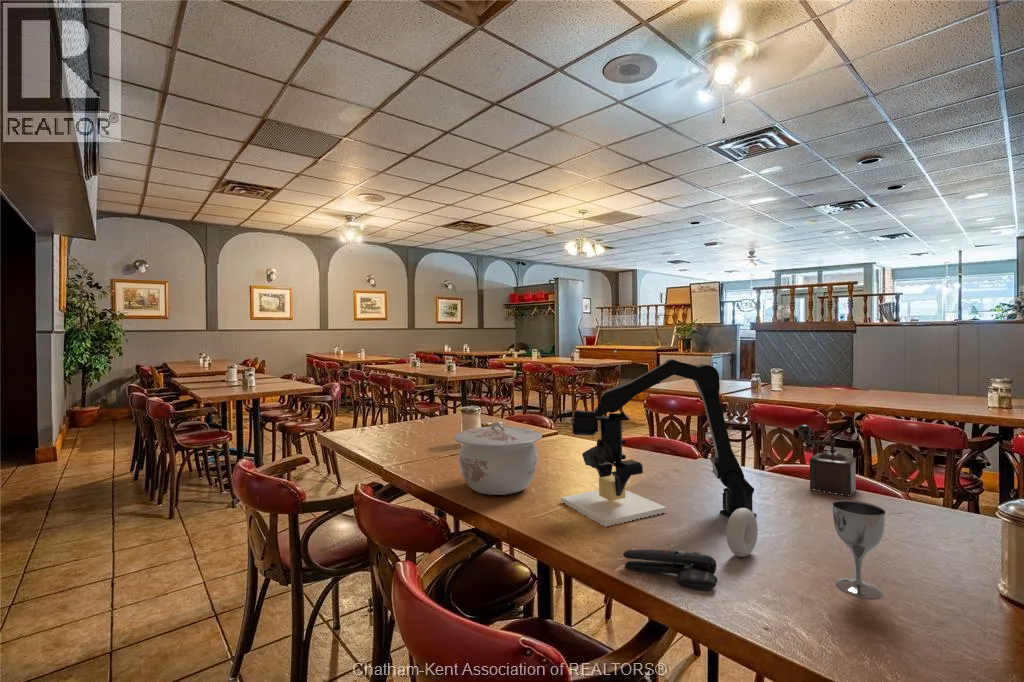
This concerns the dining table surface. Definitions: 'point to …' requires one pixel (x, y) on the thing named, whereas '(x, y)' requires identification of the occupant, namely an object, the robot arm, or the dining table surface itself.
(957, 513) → the dining table surface
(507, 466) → the chamber pot
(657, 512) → the board
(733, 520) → the donut
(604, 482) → the cube
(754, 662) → the dining table surface
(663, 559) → the can opener
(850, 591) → the wine glass
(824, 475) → the coffee grinder
